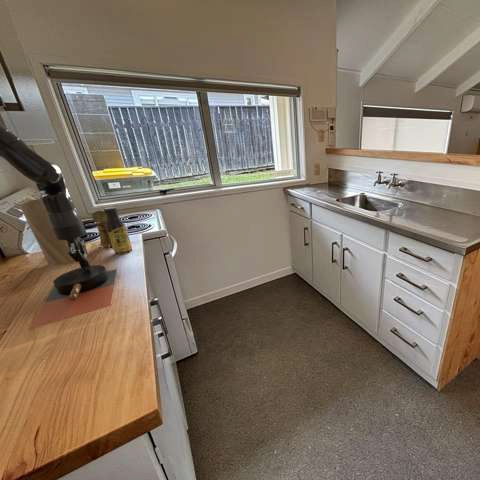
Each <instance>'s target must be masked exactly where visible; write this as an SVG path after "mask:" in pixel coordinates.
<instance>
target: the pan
mask: <svg viewBox="0 0 480 480" xmlns="http://www.w3.org/2000/svg"><path fill="white" fill-rule="evenodd" d="M108 279H109V276H108V273H107V268H106V267H105V266H104V265H101V264H95V265H90V266H86V267H82V268H81V267H79V268H75V269H71V270H69V271H67V272H64V273H63V274H60V275H58V276H57V277H56V278H55V279H54V280H53V281H52V283H53V287H54V286H55V288H56V290H57V291H58V293H59V294H61V295H69V300H72V301H73V300H76V299H77V297H78V294H79V293H82V292H86V291H89V290H92V289H94V288H96V287H98V286H100V285H102V284H103V283H105V282H106V281H107V280H108Z"/></svg>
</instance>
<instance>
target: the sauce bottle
mask: <svg viewBox="0 0 480 480" xmlns="http://www.w3.org/2000/svg"><path fill="white" fill-rule="evenodd" d="M103 212H105V213H106V215H107V219H108V221H107V224H106V227H107V230H108V234H109V237H110V240H111V243H112V246H113V247H112V249H113V252H114V254H115V255H116V256H121V255H126V254H128V253H129V254H130V253H131V252H132V251H133V247H132V243H131V240H130V236H129V234H128V230H127V227H126V225H125V223H124V221H123V220H122V219H121V218H120V216H119V213H118V208H117V207H116V206H110V207H105V208H103Z"/></svg>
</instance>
